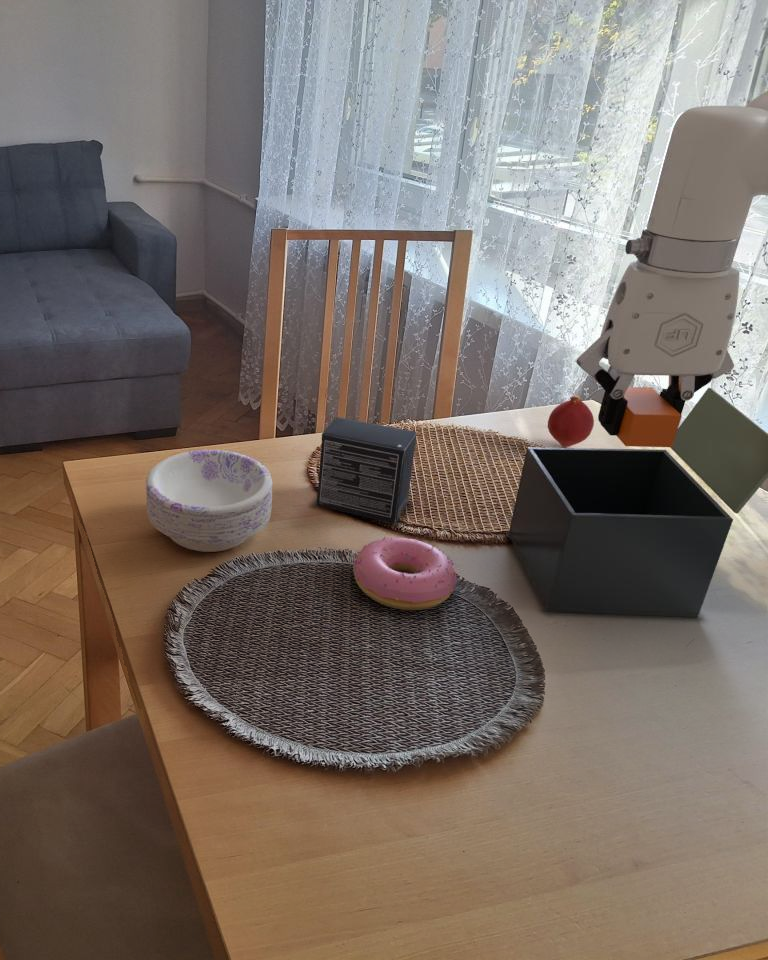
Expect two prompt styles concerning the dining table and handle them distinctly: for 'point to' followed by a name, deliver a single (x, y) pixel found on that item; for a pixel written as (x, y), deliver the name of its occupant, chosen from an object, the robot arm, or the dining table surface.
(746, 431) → the flap
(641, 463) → the bin
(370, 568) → the doughnut
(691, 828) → the dining table surface
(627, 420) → the block
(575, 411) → the onion
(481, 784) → the dining table surface
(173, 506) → the paper bowls
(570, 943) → the dining table surface
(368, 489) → the small box
